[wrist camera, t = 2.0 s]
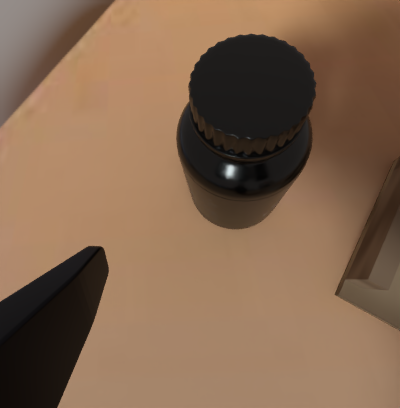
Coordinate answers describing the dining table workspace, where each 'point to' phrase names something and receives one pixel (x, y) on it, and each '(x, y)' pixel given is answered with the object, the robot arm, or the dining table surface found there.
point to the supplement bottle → (245, 128)
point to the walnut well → (378, 258)
